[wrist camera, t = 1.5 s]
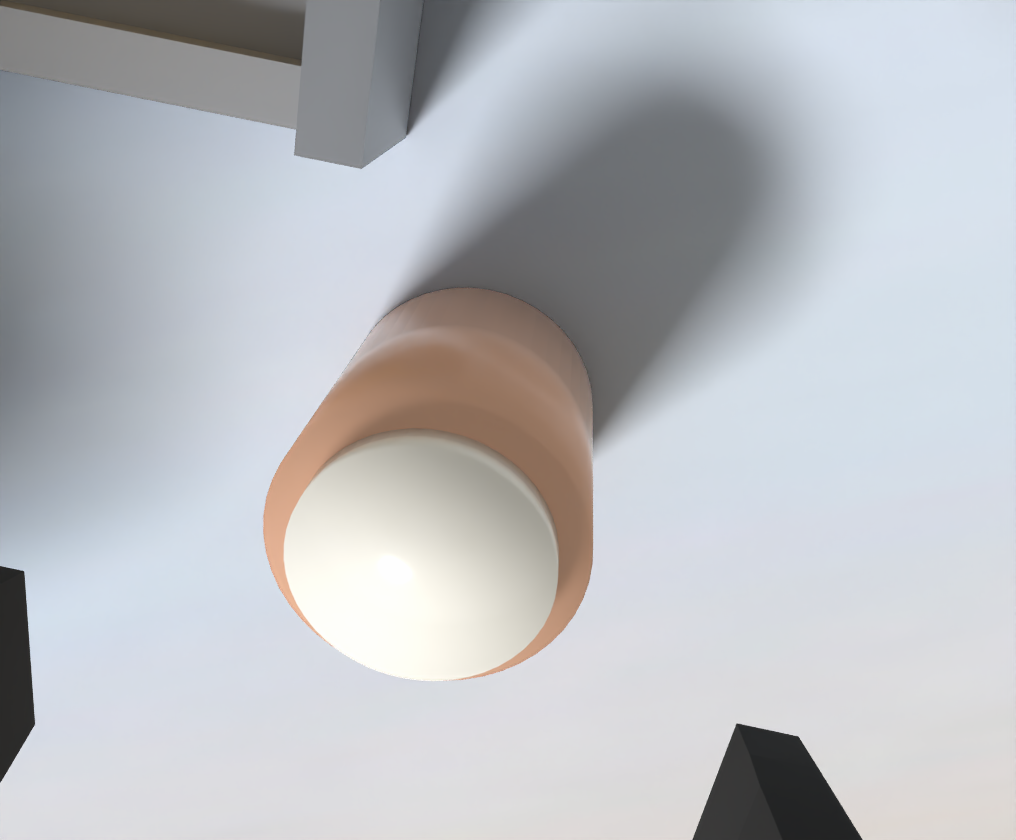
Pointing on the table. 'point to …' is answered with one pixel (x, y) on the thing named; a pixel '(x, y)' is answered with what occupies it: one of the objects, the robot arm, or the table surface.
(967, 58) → the table surface
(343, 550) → the jar
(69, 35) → the lane
